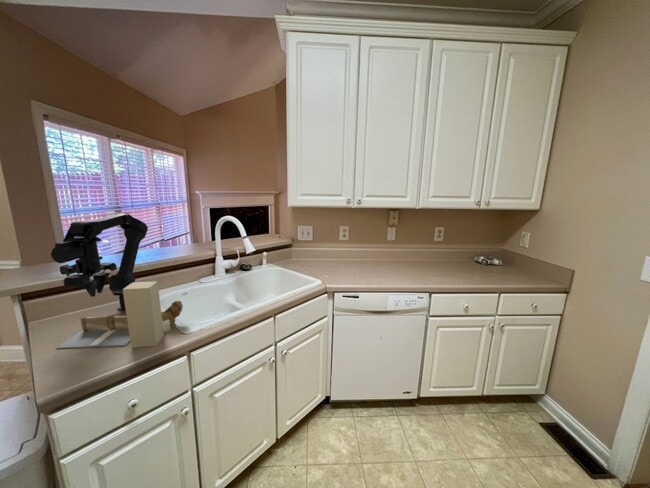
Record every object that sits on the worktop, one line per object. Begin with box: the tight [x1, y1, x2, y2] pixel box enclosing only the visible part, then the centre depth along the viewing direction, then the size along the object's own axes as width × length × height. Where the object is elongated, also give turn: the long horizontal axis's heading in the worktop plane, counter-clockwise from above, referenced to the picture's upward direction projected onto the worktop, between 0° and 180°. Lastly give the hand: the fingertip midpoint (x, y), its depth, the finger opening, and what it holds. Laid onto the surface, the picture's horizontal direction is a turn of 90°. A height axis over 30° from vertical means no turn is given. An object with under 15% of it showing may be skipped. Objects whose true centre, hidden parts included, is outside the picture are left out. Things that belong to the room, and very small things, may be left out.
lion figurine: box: [161, 300, 184, 327], centre depth 102 cm, size 15×5×9 cm, turn 137°
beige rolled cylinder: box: [80, 315, 109, 331], centre depth 99 cm, size 2×9×5 cm, turn 95°
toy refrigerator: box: [123, 280, 165, 349], centre depth 92 cm, size 8×7×21 cm
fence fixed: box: [107, 314, 129, 331], centre depth 100 cm, size 2×11×6 cm, turn 95°
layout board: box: [56, 329, 131, 350], centre depth 99 cm, size 18×22×1 cm
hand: (96, 294), depth 103 cm, fingers open, 3 cm apart
